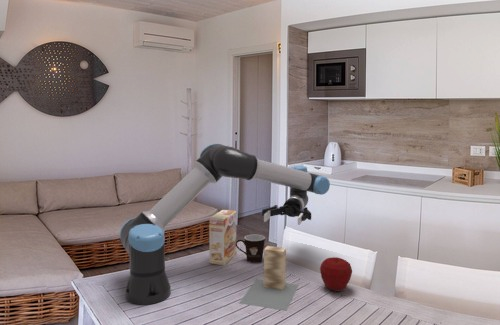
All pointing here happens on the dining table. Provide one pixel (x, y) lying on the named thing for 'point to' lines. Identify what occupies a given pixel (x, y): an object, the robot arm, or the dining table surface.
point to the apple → (335, 273)
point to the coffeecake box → (222, 236)
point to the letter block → (274, 267)
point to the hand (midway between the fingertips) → (281, 219)
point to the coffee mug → (253, 247)
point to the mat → (269, 296)
